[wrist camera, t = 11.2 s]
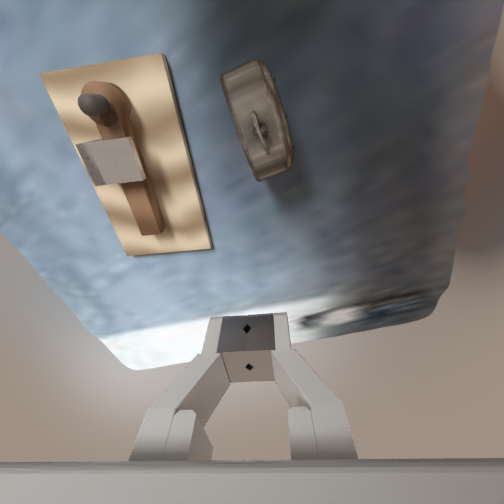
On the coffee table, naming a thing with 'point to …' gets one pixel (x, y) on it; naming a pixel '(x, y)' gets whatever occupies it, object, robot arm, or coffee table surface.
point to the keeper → (111, 161)
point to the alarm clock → (259, 118)
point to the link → (117, 126)
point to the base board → (151, 146)
